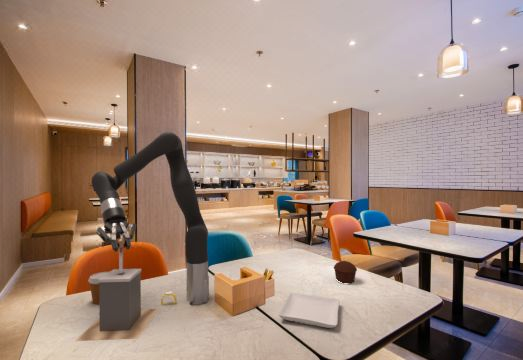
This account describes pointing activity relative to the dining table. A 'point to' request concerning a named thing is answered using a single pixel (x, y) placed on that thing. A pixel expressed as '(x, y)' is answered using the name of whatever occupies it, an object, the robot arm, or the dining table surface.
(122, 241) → the plunger
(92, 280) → the disposable coffee cup
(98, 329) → the oak board
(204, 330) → the dining table surface
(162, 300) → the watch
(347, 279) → the muffin
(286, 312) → the salad plate
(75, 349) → the dining table surface
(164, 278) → the dining table surface
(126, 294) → the block
